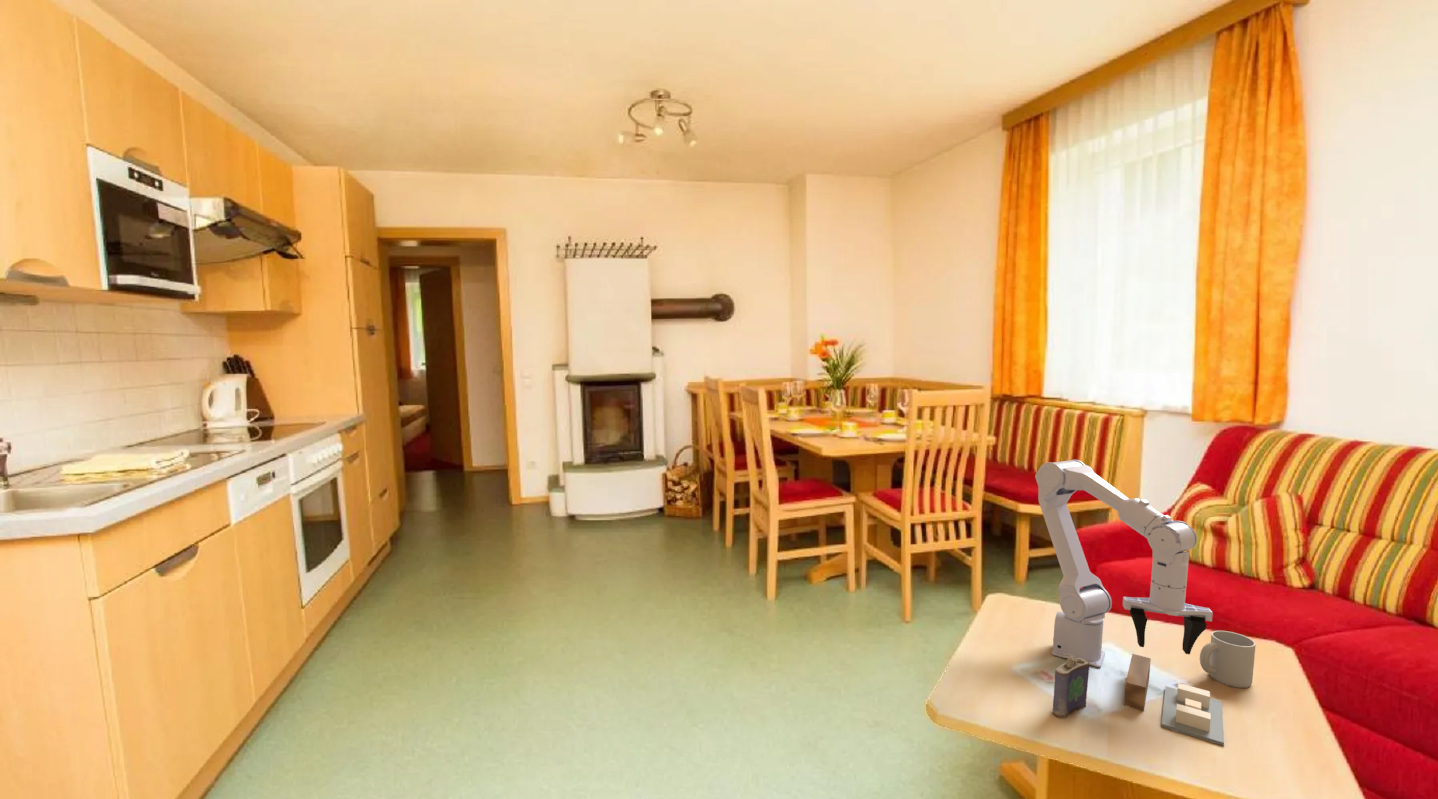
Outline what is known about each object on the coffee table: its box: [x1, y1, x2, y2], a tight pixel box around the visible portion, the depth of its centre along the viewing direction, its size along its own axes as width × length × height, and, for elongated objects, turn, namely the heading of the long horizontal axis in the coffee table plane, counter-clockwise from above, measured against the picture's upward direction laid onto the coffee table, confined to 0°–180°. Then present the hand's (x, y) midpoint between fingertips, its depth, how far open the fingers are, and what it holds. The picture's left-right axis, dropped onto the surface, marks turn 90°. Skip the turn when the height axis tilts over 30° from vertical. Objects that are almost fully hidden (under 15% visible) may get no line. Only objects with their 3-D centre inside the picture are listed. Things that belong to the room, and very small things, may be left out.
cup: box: [1199, 630, 1257, 689], centre depth 132 cm, size 7×10×9 cm
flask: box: [1052, 654, 1090, 719], centre depth 121 cm, size 9×3×11 cm, turn 121°
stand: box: [1161, 682, 1225, 746], centre depth 120 cm, size 9×16×3 cm, turn 143°
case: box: [1123, 653, 1152, 712], centre depth 128 cm, size 3×14×5 cm, turn 142°
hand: (1163, 648), depth 126 cm, fingers open, 7 cm apart
